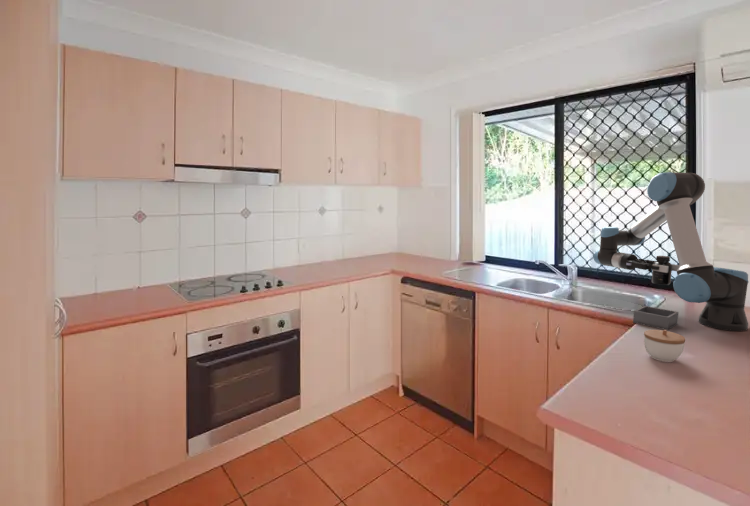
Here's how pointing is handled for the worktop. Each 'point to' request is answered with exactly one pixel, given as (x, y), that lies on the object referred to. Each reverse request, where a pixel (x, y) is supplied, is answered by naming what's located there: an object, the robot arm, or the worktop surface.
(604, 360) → the worktop surface
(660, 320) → the bin
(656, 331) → the lidded jar
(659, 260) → the supplement bottle
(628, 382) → the worktop surface
